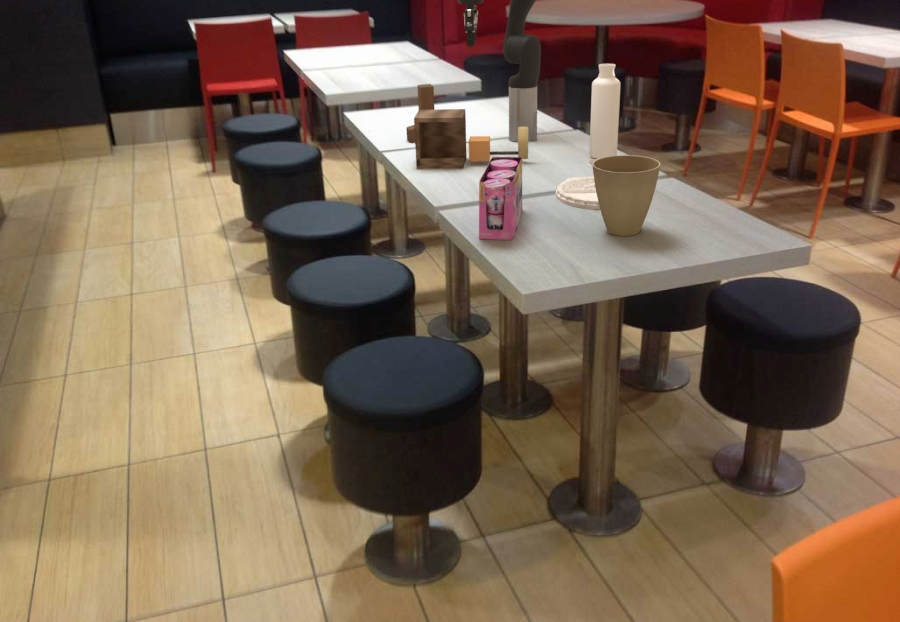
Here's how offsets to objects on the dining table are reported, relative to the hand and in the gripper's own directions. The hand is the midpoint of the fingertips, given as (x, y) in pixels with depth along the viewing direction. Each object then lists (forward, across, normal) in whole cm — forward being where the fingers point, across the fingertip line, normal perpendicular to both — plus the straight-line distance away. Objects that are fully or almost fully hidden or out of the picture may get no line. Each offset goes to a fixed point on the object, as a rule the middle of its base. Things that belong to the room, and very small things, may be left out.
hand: (471, 44), depth 247 cm
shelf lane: (+33, -10, +9) cm, 36 cm away
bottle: (+33, -10, -39) cm, 52 cm away
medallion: (+34, -42, -35) cm, 64 cm away
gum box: (+33, -66, -11) cm, 75 cm away
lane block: (+32, -10, -8) cm, 34 cm away
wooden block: (+33, +20, +19) cm, 43 cm away
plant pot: (+33, -71, -39) cm, 88 cm away
